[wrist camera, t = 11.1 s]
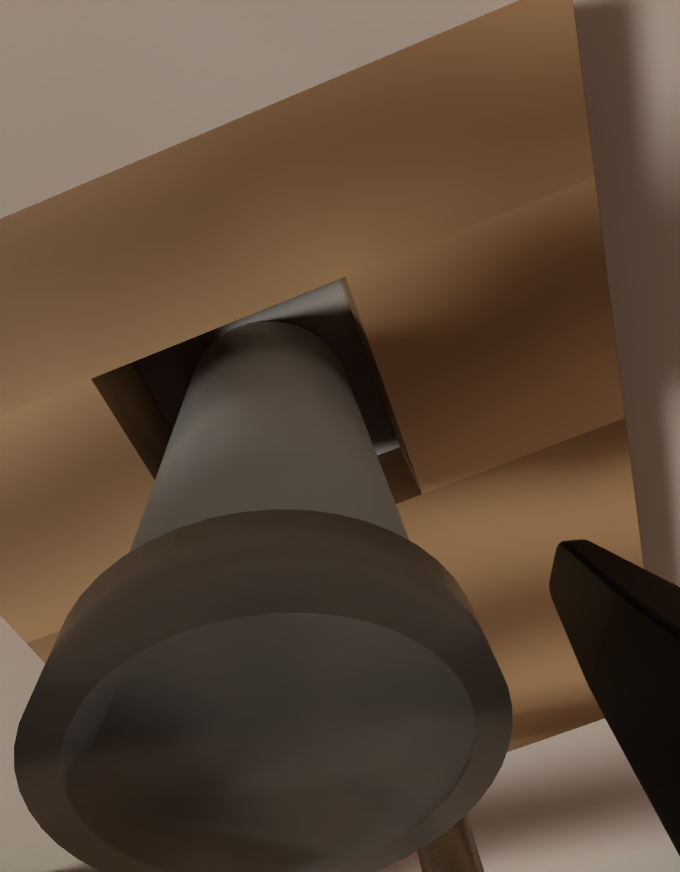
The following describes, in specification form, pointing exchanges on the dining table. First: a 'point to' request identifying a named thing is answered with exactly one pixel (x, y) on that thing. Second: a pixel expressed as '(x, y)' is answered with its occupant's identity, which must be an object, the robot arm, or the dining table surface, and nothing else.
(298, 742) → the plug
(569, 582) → the robot arm
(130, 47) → the dining table surface
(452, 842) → the bar
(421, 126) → the socket base
